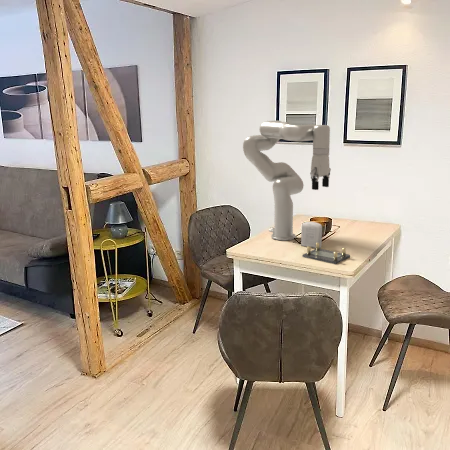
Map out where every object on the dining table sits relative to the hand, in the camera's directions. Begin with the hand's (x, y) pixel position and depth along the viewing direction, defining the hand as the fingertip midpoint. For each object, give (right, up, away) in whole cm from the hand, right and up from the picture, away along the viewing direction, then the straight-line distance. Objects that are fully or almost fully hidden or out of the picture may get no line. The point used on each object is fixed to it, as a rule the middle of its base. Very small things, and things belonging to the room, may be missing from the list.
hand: (320, 188), depth 224 cm
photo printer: (-3, -28, +7) cm, 29 cm away
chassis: (+1, -32, -9) cm, 33 cm away
